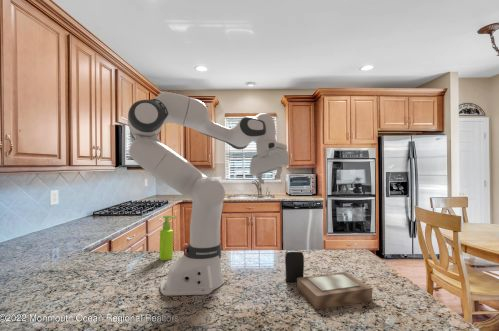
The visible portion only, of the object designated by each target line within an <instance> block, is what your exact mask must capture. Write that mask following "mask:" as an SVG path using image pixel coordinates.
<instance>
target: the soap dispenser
mask: <svg viewBox="0 0 499 331" xmlns="http://www.w3.org/2000/svg"><path fill="white" fill-rule="evenodd" d="M162 218H164V222H162V229H161V230H159V254H158V255H159V256H158V257H159V260H160V261H169V260H172V259H173V255H174V253H173V252H174V251H173V250H174V249H173V248H174V246H173V244H174V230H173V229H171V222H169V221H170V220H169V219H175V218H176V216H174V215H164V216H162Z"/></svg>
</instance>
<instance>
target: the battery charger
mask: <svg viewBox="0 0 499 331" xmlns="http://www.w3.org/2000/svg"><path fill="white" fill-rule="evenodd" d="M284 267H285V269H284V270H285V278H284V279H285V282H286V283H297V278H300V277H304V274H305V273H304V271H305V269H304V268H305V257H304V253H303V252H302V251H301V250H300V249H287V250H286V251H285V253H284Z"/></svg>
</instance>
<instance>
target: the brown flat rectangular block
mask: <svg viewBox="0 0 499 331" xmlns="http://www.w3.org/2000/svg"><path fill="white" fill-rule="evenodd" d="M296 290H297V291H298V292H299V293H300V294H301V295H302V296H303V297H304V298H305V299H306V300H307V301H308V302H309V303H310V304H311V305H312V307H314V308H315V309H316V310H323V309H329V308H336V307H341V306H348V305H355V304H359V303H360V304H361V303H365V302H371V301H373V288H372V287H371V286H370V285H368V284H366V283H364V282H363V281H362V280H360V279H358V278H356V277H355V276H353V275H352V274H350V273H348V272H347V271H343V272H334V273H328V274H327V273H326V274H318V275H316V274H315V275H309V276H303V277H300V278H297V282H296Z"/></svg>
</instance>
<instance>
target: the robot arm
mask: <svg viewBox="0 0 499 331" xmlns="http://www.w3.org/2000/svg"><path fill="white" fill-rule="evenodd" d="M167 123H168V124H169V123H170V124H175V125H180V126H183V127H185V128H190V129H192V130H195V131H196V132H198V133H200V134H202V135H204V136H207V137H210V138H213V139H215V140H218V141H221V142H224V143H226V144H227V145H229V146H231V147H232V148H234V149H235V150H238V151H239V150H243V149H246V148H247V147H248V146H249V145H250V144H251V142H255V144H256V155H252V158H251V159H250V164H249V174H250V176H254V177H256V179H257V180H258V185H264V184H265V180H264V179H263V178H262V177H263V175H264V174H267V173H271V172H273V171H276V173H275V175H274V180H276V181H279V180H281V174H282V172H283V168H286V167H288V166H289V165H290V157H289V152H288V146H287V144H284V143H281V142H278V141H277V140H276V136H277V132H276V131H277V130H276V125H275V124H276V123H275V120H274V118H273V116H272V115H271V114H269V113H266V112H264V113H263V112H262V113H258V114H257V115H255V116H248V115H247V116H244V117H243V118H241V119H240V120H239V121H238V122H237V124H236V125H235V126H234V127H231V128H230V127H226V126H223V125H221V124H219V123H215V122H214V121H213V120H212V119H211V118H210V112H209V109H208V107H207V105H206V104H205V103H204V102H202V101H201V100H200V99H197V98H194V97H189V96H187V95H184V94H178V93H176V92H175V93H174V92H168V91H167V92H166V91H163V92H161V93H159V94H158V95H157V96H156V98H151V99H141V100H137V101H135V102H134V103H133V104H132V105H131V106H130V108H129V109H128V114H127V125H128V129H129V133H130V134H131V136H132V138H133V142H132V143H131V144H130V146H129V149H128V154H129V156H130V158H131V159H132V160H133V161H134V162H135V163H136V164H137V165H138V166H139V167H141V168H142V169H143V170H145V171H146V172H147V173H149V174H150V175H152V176H154V178H156V179H158V180H160V181H161V182H163V183H164V184H165V185H167V186H169V188H172V189H173V190H175V191H176V192H178V193H180V194H181V195H183V196H184V197H186V198H187V199H189V200H191V201H192V205H191V216H190V223H189V244H188V243H186V242H185V243H183V244H182V249H183V255H182V256H180V257H179V258H178V259H177V260H176V261H175V262H173V263H172V264H171V265H170V266H169V268H168V272H167V275H166V276H165V277H164V278H163V279H162V280H161V282H160V287H159V289H160V290H159V291H160V293H161V295H163V296H166V297H167V296H168V297H169V296H195V295H196V296H197V295H198V296H199V295H201V296H203V295H210V294H211V293H212V292H213V291H214V290H216V289H218V288H220V287H222V285H223V284H224V283H225V280H224V276H223V271H222V265H221V258H222V243H221V218H222V212H223V206H224V200H225V196H226V190H225V188H224V186H223V184H222V183H221V182H220V181H219V180H218V179H216V178H214V177H209V176H207V175H205V174H204V173H203V172H202V171H201V170H199V169H198V168H197V167H196V166H194V165H193V164H192V163H191V162H189V161H188V160H187V159H186V158H185V157H183V156H181V154H178V153H177V152H176V151H174V150H173V149H171V148H170V147H169V146H167V145H166V144H164V143H163V142H162V141H161V140H160V138H159V134H160V132H161V131H162V128H163V125H164V124H167Z"/></svg>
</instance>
